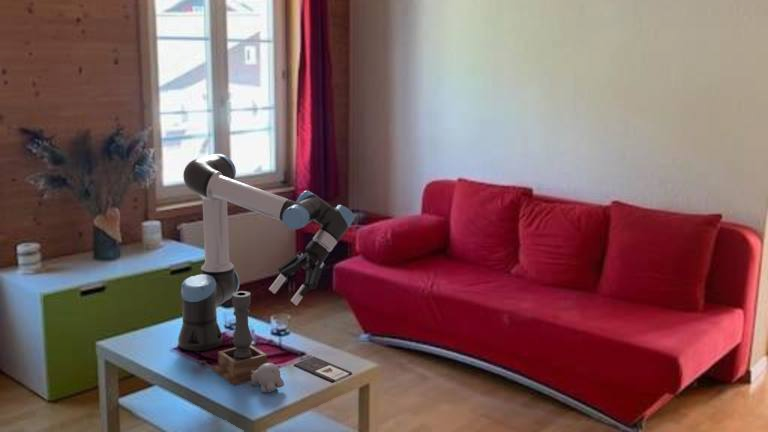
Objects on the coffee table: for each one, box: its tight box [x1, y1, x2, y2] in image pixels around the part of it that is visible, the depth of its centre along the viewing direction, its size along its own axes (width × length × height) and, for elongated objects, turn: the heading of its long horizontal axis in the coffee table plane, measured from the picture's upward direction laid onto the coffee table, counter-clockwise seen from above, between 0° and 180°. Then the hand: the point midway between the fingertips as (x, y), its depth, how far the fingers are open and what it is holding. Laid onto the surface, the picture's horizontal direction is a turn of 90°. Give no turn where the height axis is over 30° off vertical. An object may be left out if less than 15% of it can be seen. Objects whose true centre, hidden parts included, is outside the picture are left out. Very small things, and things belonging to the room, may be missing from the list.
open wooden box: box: [212, 344, 268, 386], centre depth 249 cm, size 14×14×6 cm
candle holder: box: [231, 290, 253, 361], centre depth 247 cm, size 6×6×25 cm
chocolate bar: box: [293, 355, 353, 383], centre depth 253 cm, size 9×1×18 cm
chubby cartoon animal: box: [250, 362, 285, 394], centre depth 238 cm, size 7×12×8 cm, turn 49°
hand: (282, 297), depth 254 cm, fingers open, 13 cm apart
